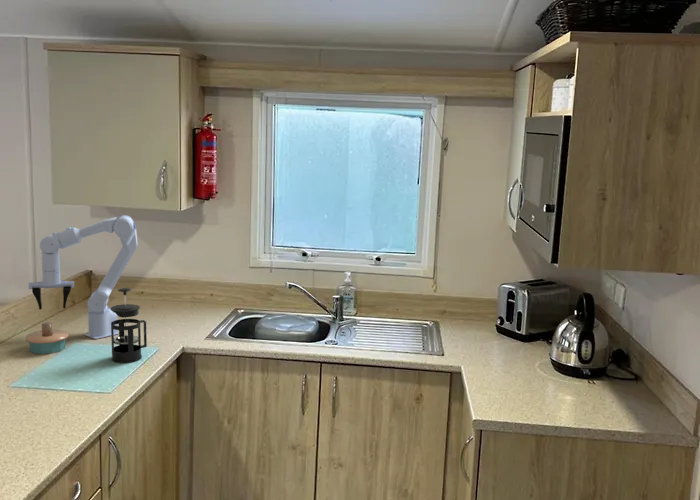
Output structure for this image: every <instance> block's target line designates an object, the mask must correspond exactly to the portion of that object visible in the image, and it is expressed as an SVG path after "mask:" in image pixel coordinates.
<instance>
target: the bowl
mask: <svg viewBox="0 0 700 500" xmlns="http://www.w3.org/2000/svg"><path fill="white" fill-rule="evenodd" d="M28 343H29V352H30V353H33V354H37V355H38V354H39V355H41V354H42V355H45V354H54V353H59V352H61V351H64V350H65V349H66V339H65V340H62V341H58V342H53V343H31V342H28Z"/></svg>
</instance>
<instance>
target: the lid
mask: <svg viewBox="0 0 700 500" xmlns="http://www.w3.org/2000/svg"><path fill="white" fill-rule="evenodd" d="M69 335H70V334H69V332H68V331H67V330H62V329H53V322H51V321H50V322H49V321H46V322H42V323H41V330H38V331H33V332H31V333H29V334H27V335H26V336H25V341H26V342H27V343H29V342H31V343H53V342H58V341H62V340H65V341H66V339H68V338H69Z"/></svg>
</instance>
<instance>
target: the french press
mask: <svg viewBox="0 0 700 500" xmlns="http://www.w3.org/2000/svg"><path fill="white" fill-rule="evenodd" d="M131 291H132V288H129V287H122V288H119V289H118V290H117V292H120V293H121V292H122V293H123V298H124V304H123V303H122V304H116V305H114V306H111V307H110V309H111V311H112V312H113V313H116V314H117V317H120V319H117V320H115V321H113V322H111V336H110V337H111V357H110V358H111V361H112V362H114V363H118V364H127V363H129V364H130V363H134V362H139V360H142V357H143V355H142V349H144V348H147V341H148V340H147V321H146V320H144V319H143V320H142V319H141V320H139V319H137V318H131V317H136V316H138V315H139V311H140V309H141V306H140V305H137V304H132V303H131V304H129V303H128V304H127V301H126V298H127V297H126V296H127V293H128V292H131ZM129 323H130V324H131V325H127V324H129ZM141 323H143V345H142V344H141V341H142V340H141V338H142V337H141ZM116 324H117V325H118V326H115V325H116ZM113 329H114V330H118V332H119V334H118V336H115V335H114V332H113ZM136 329H137V335H134V330H136ZM136 343H138V344H136ZM115 345H116V346H115Z"/></svg>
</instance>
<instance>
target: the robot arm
mask: <svg viewBox="0 0 700 500" xmlns="http://www.w3.org/2000/svg"><path fill="white" fill-rule="evenodd" d="M102 232H107V233H110V234H113V233H115V234H116V235H117V237H118V238H119V240H120V243H121V248H120V250H119V252H118V253H117V255H116V257H115V259H114V260H113V262H112V263H111V265H110V267H109V269H108V270H107V273H106V274H105V276H104V278H103V279H102V281H101V282H100V284H99V286H98V288H97V289H95V290H94V291H93V292H92V293H91V294H90V297H89V298H88V300H87V302H86V303H87V304H86V306H87V308H88V309H87V322H88V323H87V326H88V332H84V333H83V335H84V336H86V337H88V338H91V339H94V340H98V339H103V338H107V337H111V322H113V321H115V320H118V315H117V314H116V313H113V312H112V311H111V308H109V306H108V305H107V304H108V302H109V300H110V295H111V293H112V291H113V289H114V288H115V286H116V284H117V282H118V281H119V280H120V277H121V276H122V274H123V273H124V271H125V268H126V267H127V265H128V263H129V262H130V260H131V259H132V256H133V255H134V254H135V252H136V250H137V248H138V233H137V226H136V223H135V222H134V219H133V218H132V217H131V216H130V215H127V214H124V215H123V214H122V215H120V216H115V217H109V218H106V219H104V220H101V221H98V222H95V223H93V224H90V225H87V226H84V227H82V228H76V227H71V226H68V227H66V229H64V230H62V231H59V232H56V231H54V232H53V233H52V234H48V235H46V236H44V237H43V238H42V239H41V240H40V243H39V249H41V270H42V271H41V272H42V281H35V282H29V283H28V290H31V292H32V294H33V296H34V297H35V300H36V302H37V305H38V310H42V309H43V304H42V303H43V302H42V289H57V288H58V289H60V288H62V294H63V299H62V300H63V301H62V302H63V303H62V308H63V309H66V307H67V306H66V305H67V301H68V297H69V295H70V292H71V289H72V288H73V289H74V288H75V280H61V260H60V259H61V258H60V250H59V249H62V250H63V249H65V248H69V247H72V246H75V245H76V244H80V243H81V242H82V240H83V238H87V237H89V236H94V235H97V234H101V233H102ZM115 326H119V324H116V325H115ZM113 332H114V336H115V335H119V330H114V329H113Z"/></svg>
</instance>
